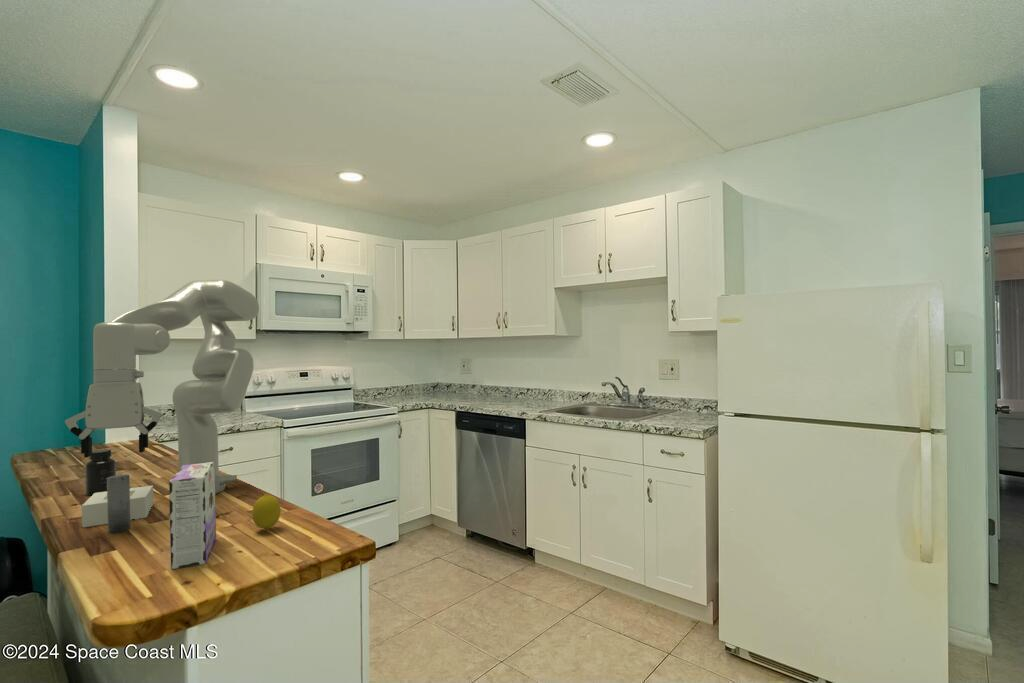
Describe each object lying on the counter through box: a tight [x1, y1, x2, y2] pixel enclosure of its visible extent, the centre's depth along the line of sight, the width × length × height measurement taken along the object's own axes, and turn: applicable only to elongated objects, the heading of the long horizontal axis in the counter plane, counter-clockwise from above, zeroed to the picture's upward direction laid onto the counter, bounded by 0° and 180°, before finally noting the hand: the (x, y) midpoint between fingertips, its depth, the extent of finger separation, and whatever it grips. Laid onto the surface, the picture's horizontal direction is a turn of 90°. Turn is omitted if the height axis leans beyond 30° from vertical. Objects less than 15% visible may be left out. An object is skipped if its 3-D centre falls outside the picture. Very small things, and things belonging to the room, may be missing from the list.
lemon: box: [252, 493, 281, 531], centre depth 111 cm, size 6×6×8 cm
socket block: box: [81, 485, 154, 528], centre depth 124 cm, size 12×12×5 cm
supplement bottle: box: [84, 448, 117, 496], centre depth 145 cm, size 7×7×12 cm
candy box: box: [168, 462, 217, 570], centre depth 100 cm, size 14×6×16 cm, turn 23°
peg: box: [107, 473, 132, 535], centre depth 114 cm, size 4×4×12 cm
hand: (115, 453), depth 113 cm, fingers open, 9 cm apart
